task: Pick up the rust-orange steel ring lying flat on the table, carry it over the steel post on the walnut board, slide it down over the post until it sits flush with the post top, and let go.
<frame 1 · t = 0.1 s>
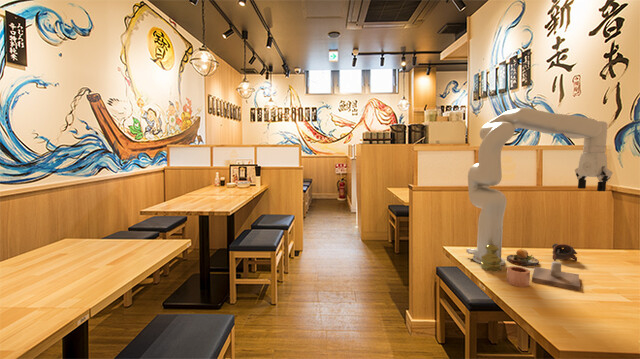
hand: (591, 189, 146), 31 cm above the table, tool pointing down, fingers open, 9 cm apart
burger: (522, 263, 145), on the table
ring: (517, 283, 122), on the table
post stand: (555, 279, 125), on the table
pottery mug: (562, 260, 148), on the table
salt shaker: (490, 268, 137), on the table, touching arm
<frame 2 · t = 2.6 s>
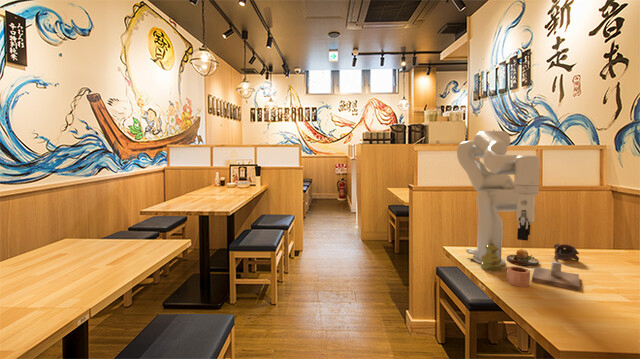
hand: (523, 237, 121), 17 cm above the table, tool pointing down, fingers open, 9 cm apart
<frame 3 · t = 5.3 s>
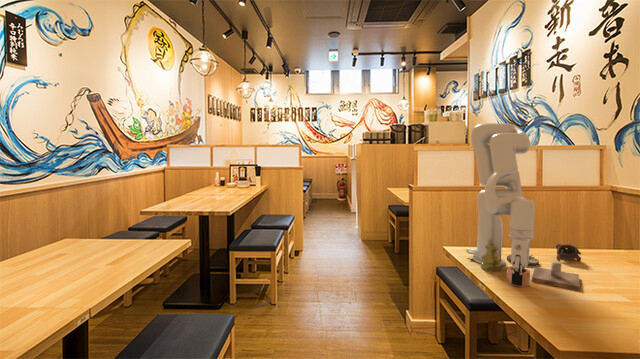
hand: (517, 280, 122), 1 cm above the table, tool pointing down, fingers closed on ring, 7 cm apart
ring: (517, 283, 122), on the table, touching gripper
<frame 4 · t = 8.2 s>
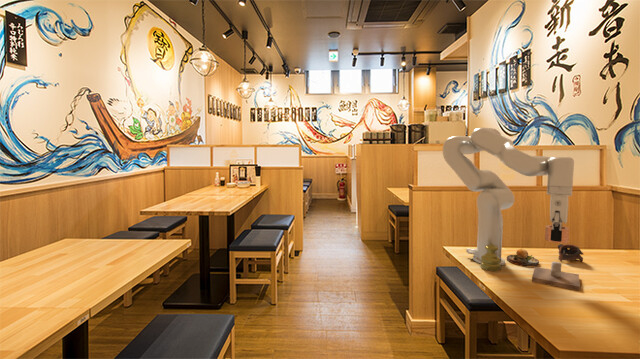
hand: (556, 238, 123), 16 cm above the table, tool pointing down, fingers closed on ring, 7 cm apart
ring: (556, 240, 123), point 15 cm above the table, touching gripper
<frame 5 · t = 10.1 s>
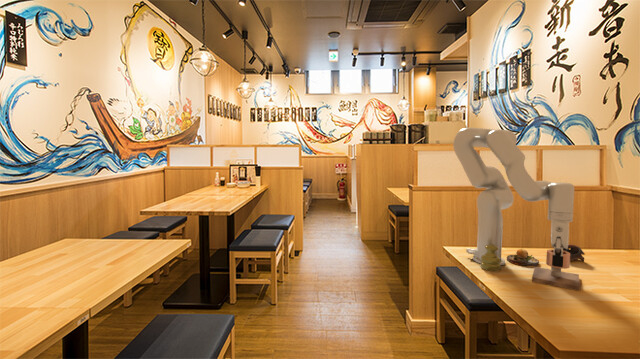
hand: (557, 263, 124), 6 cm above the table, tool pointing down, fingers closed on ring, 7 cm apart
ring: (557, 265, 124), point 6 cm above the table, touching gripper
when the fingers open (3 cm above the table, at t = 11.6 s): ring drops 1 cm, resting on post stand.
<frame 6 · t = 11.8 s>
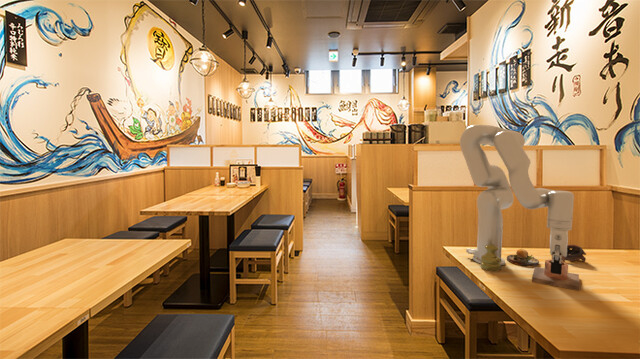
hand: (556, 269, 125), 4 cm above the table, tool pointing down, fingers open, 8 cm apart
ring: (555, 275, 125), point 1 cm above the table, touching post stand
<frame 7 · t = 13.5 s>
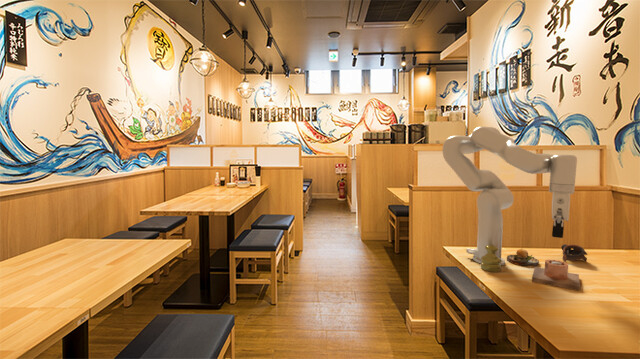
hand: (557, 234, 124), 17 cm above the table, tool pointing down, fingers open, 9 cm apart
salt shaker: (490, 269, 136), on the table
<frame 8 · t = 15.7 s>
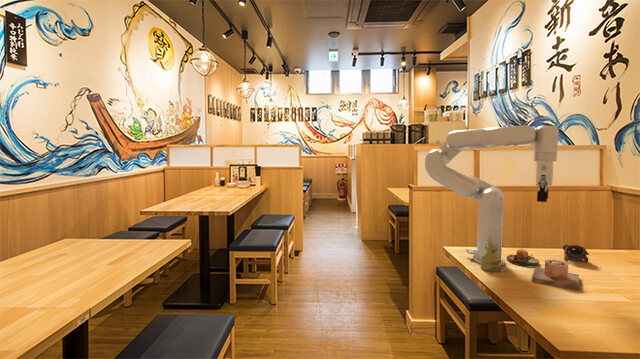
hand: (542, 200, 134), 28 cm above the table, tool pointing down, fingers open, 9 cm apart
at the end: ring 0.0 cm from the post stand (horizontally); ring point 1.5 cm above the table; the gripper is holding nothing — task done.
